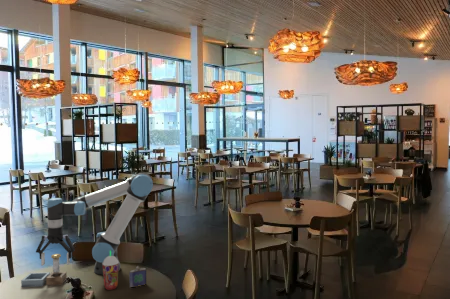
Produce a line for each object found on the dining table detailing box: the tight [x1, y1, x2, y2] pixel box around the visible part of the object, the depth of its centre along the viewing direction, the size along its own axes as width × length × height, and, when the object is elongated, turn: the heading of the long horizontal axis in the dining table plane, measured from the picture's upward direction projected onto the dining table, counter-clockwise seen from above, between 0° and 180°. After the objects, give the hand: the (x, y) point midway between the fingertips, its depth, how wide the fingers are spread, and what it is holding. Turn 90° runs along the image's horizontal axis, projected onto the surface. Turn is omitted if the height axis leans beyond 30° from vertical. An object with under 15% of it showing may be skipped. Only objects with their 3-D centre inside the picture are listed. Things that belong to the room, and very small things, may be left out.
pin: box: [50, 253, 62, 277], centre depth 213 cm, size 5×5×15 cm
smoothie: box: [102, 251, 120, 291], centre depth 204 cm, size 8×8×20 cm
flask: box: [128, 265, 147, 288], centre depth 206 cm, size 9×3×11 cm, turn 121°
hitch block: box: [45, 271, 67, 286], centre depth 213 cm, size 8×8×4 cm
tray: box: [20, 272, 51, 288], centre depth 212 cm, size 11×11×4 cm
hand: (55, 264), depth 213 cm, fingers open, 13 cm apart
